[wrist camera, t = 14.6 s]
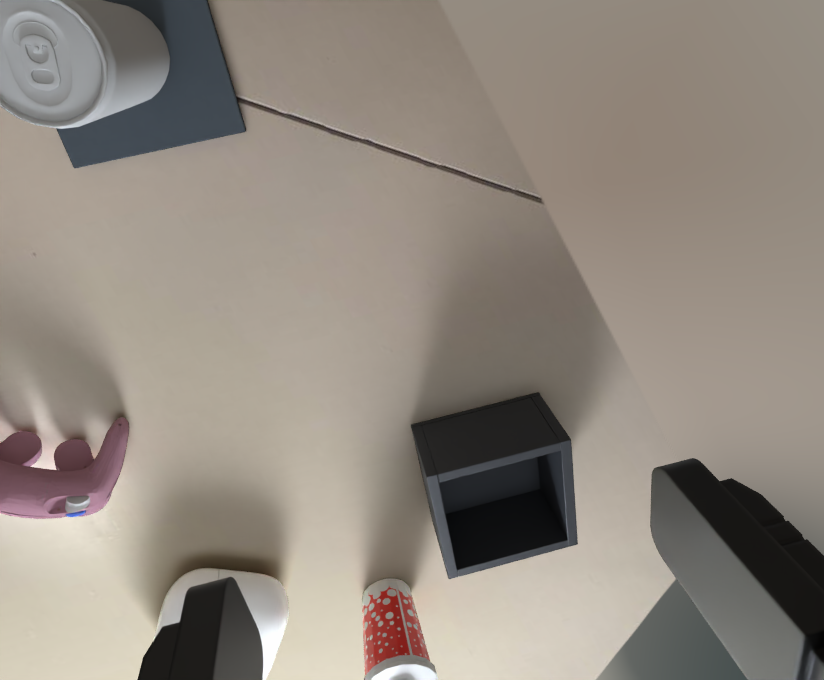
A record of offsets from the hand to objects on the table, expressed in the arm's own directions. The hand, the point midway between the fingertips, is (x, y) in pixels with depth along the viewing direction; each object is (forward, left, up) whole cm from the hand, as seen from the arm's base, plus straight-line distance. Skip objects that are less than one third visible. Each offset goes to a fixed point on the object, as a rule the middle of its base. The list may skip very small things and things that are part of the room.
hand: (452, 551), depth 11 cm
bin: (-6, +24, -30) cm, 39 cm away
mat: (+10, -10, -30) cm, 33 cm away
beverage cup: (+5, +37, -30) cm, 48 cm away
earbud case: (+19, +33, -30) cm, 49 cm away
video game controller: (+24, +12, -30) cm, 40 cm away
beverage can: (+10, -10, -30) cm, 33 cm away
